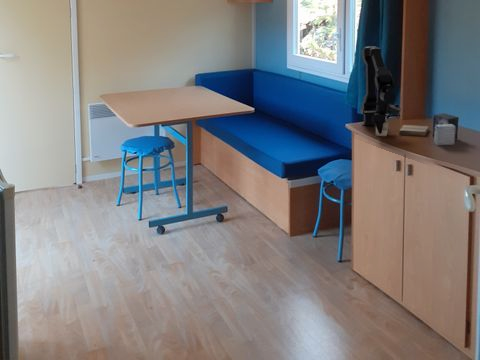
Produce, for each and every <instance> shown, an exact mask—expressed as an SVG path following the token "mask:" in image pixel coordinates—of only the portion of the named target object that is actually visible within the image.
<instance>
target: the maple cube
mask: <svg viewBox="0 0 480 360" xmlns="http://www.w3.org/2000/svg"><path fill="white" fill-rule="evenodd" d="M388 134H389V121H387V122H385V123H384V124H383V129H382V133H381V134H379V132H378V130H377V127H376V126H375V136H380V137H387V135H388Z"/></svg>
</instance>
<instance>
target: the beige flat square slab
mask: <svg viewBox="0 0 480 360" xmlns="http://www.w3.org/2000/svg"><path fill="white" fill-rule="evenodd" d="M428 132H429V126H428V125H412V124H409V125H408V124H403V125H402V126H401V127H400V129H399V131H398V133H399V135H403V136H420V137H421V136H422V137H425V136H426V135H427V133H428Z"/></svg>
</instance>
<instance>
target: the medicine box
mask: <svg viewBox="0 0 480 360" xmlns="http://www.w3.org/2000/svg"><path fill="white" fill-rule="evenodd" d="M433 137H434V139H433V143H434V144H435V145H436V146H450V145H451V146H452V145H453V146H454V145H455V140H456V139H455V126H454V125H452V124H442V125H435V135H434V136H433Z"/></svg>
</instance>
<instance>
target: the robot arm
mask: <svg viewBox="0 0 480 360" xmlns="http://www.w3.org/2000/svg"><path fill="white" fill-rule="evenodd" d="M361 56H362V61H363V62H364V64H365V80H366V81H365V83H366V84H365V85H366V86H365V88H366V89H365V91H366V94H365V95H364V97H363V99H362V100H363V101H362V104H361V106H360V113H361V114H362V115H363V123H362V124H361V126H367V127H375V128H376V127H377V130H378V132H379V134H381V133H382V129H383V124H384V123H385V122H388V119H390V117H391V116H392V115H393V116H394V117H399V115H400V113H401V111H402V108H401V106H400V104H399V103H396V104H394V105H393V103H394V102H395V101H396V98H397V97H396V94H395V92H393V89H395V85H396V84H395V81H394V77H393V76H392V74H391V71H390V70H389V69H387V68H386V66H385V62H384V58H383V55H382V49H381V48H380V47H377V46H364V47H363V48H362V49H361Z"/></svg>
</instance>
